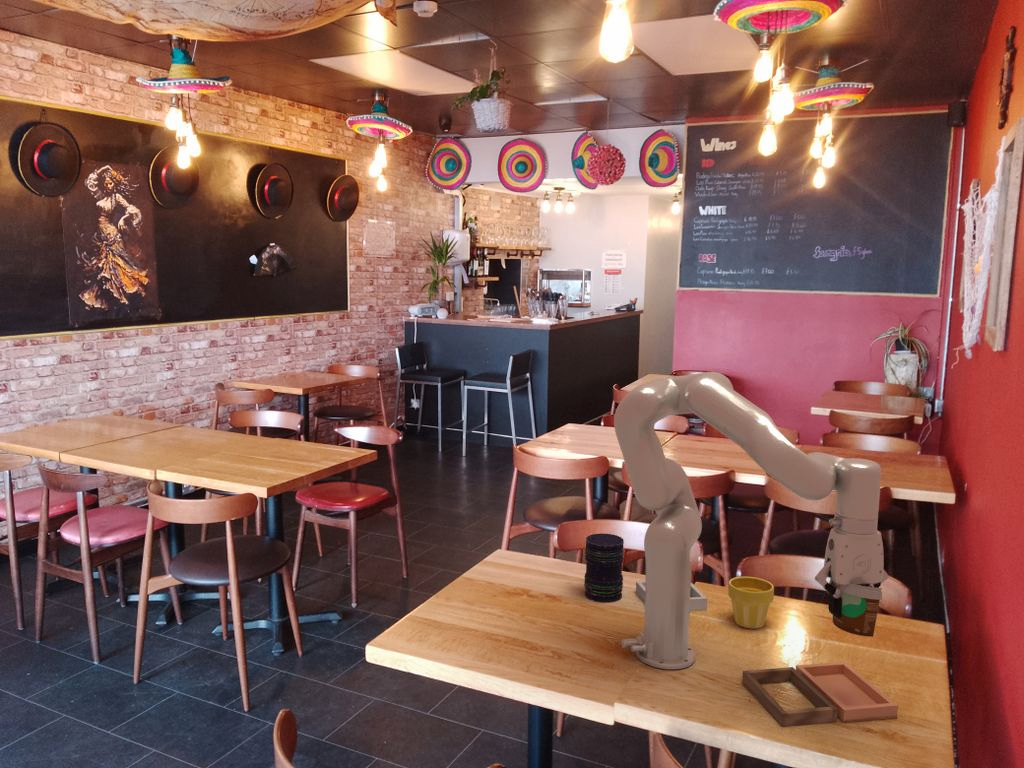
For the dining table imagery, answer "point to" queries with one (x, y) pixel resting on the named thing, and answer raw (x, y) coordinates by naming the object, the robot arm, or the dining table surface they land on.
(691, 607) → the grey parts rim
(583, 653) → the dining table surface
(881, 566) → the robot arm
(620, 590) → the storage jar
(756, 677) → the walnut stand frame
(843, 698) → the terracotta tray
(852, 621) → the food container
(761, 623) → the plant pot
